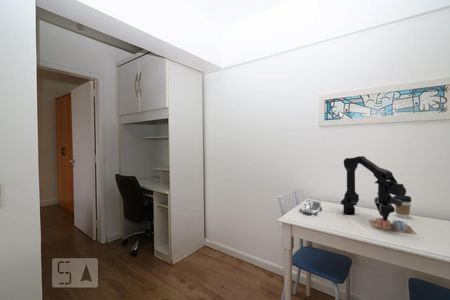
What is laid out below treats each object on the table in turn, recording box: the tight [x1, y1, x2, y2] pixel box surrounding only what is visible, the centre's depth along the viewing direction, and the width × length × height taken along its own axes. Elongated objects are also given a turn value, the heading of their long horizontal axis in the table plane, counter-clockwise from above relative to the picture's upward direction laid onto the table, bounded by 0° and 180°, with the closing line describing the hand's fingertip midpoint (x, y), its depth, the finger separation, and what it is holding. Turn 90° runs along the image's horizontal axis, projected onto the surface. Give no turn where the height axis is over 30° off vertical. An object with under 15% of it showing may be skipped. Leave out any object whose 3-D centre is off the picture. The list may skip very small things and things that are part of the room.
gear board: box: [368, 219, 418, 236], centre depth 122 cm, size 20×13×6 cm, turn 64°
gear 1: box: [376, 217, 391, 228], centre depth 124 cm, size 6×6×4 cm
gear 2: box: [392, 219, 408, 231], centre depth 121 cm, size 6×6×4 cm
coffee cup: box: [395, 195, 412, 219], centre depth 138 cm, size 8×8×15 cm
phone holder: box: [298, 198, 323, 217], centre depth 153 cm, size 18×10×12 cm
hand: (383, 218), depth 124 cm, fingers open, 9 cm apart
